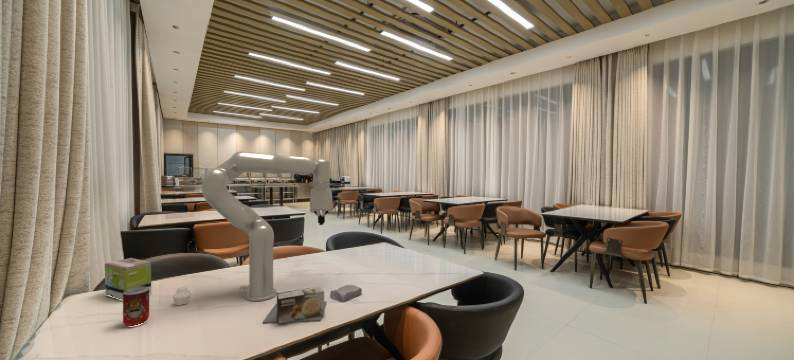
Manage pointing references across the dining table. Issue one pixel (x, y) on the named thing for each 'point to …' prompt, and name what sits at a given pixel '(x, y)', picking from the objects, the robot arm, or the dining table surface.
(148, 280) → the tea box
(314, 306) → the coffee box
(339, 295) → the stone block
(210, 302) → the dining table surface
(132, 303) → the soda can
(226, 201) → the robot arm
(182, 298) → the muffin
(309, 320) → the rubber mat
